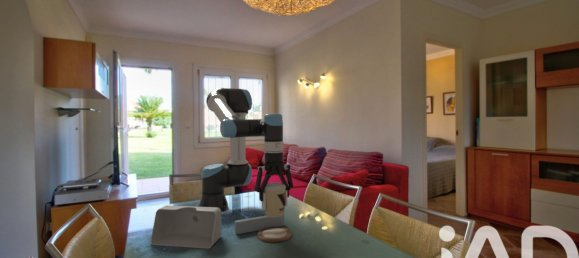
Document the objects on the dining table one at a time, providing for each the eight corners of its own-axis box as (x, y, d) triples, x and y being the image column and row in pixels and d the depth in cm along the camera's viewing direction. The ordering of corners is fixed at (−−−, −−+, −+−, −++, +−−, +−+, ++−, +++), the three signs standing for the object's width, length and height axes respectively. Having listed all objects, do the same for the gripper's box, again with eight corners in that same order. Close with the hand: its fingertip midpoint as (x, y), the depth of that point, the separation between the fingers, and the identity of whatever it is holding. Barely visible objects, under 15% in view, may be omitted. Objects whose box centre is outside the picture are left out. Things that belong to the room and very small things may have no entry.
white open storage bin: (227, 231, 117) (227, 202, 117) (211, 249, 101) (211, 215, 101) (173, 228, 121) (173, 200, 121) (149, 244, 105) (149, 212, 105)
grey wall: (234, 232, 116) (234, 220, 116) (282, 223, 125) (282, 212, 125) (236, 234, 114) (235, 222, 114) (284, 225, 123) (284, 214, 123)
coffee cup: (283, 218, 107) (282, 187, 107) (260, 217, 109) (259, 187, 108) (288, 211, 116) (287, 182, 116) (266, 210, 118) (266, 182, 118)
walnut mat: (252, 232, 116) (252, 229, 116) (283, 226, 122) (283, 224, 122) (264, 245, 103) (264, 243, 103) (297, 238, 110) (297, 236, 109)
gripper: (251, 154, 104) (252, 213, 104) (301, 151, 113) (302, 205, 114) (245, 152, 110) (246, 208, 111) (293, 149, 120) (294, 201, 120)
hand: (274, 207), depth 112 cm, fingers closed on coffee cup, 9 cm apart
